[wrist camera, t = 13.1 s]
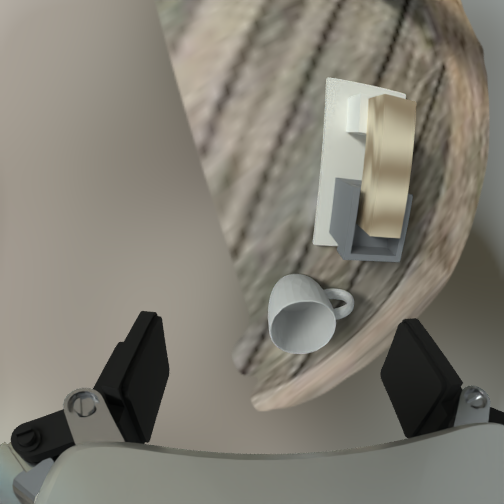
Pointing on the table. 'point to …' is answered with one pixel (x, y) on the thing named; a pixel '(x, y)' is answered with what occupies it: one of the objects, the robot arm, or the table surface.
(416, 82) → the table surface
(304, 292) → the mug
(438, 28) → the table surface
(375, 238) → the cup bracket
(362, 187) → the top rail
